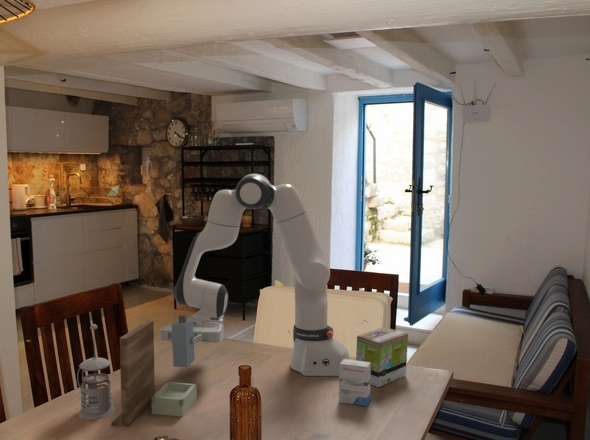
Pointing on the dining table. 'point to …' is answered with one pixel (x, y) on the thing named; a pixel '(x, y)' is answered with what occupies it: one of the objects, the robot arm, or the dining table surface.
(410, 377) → the dining table surface
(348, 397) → the ink box
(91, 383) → the french press
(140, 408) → the wooden flat block
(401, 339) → the tea box
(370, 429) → the dining table surface
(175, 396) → the pale green open box
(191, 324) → the grey block with tab
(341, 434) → the dining table surface
